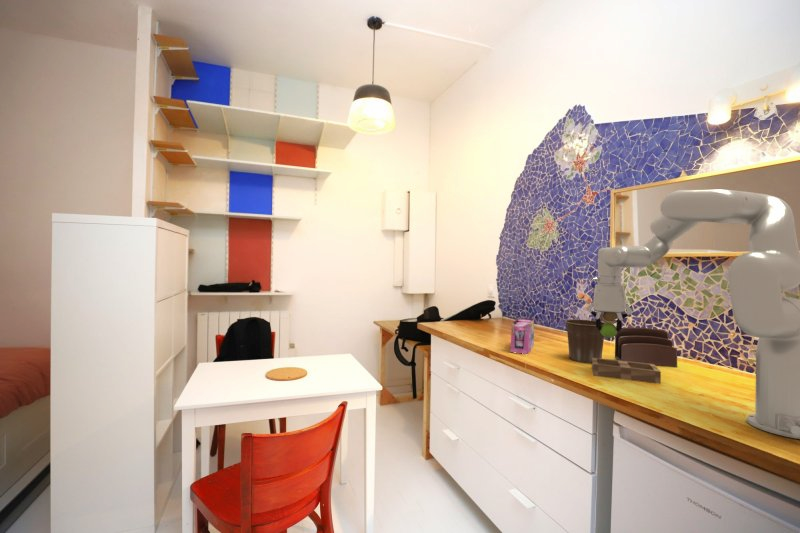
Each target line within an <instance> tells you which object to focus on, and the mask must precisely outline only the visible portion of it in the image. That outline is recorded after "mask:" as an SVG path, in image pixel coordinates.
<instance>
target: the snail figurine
mask: <svg viewBox="0 0 800 533" xmlns="http://www.w3.org/2000/svg"><path fill="white" fill-rule="evenodd" d="M600 319H601V322H604V323H605V324H603V325H602V326H601V330H600V332H601V334H602V335H603V336H604V338H606V339H607V338H608V339H611V338H614V337H615V335H616V334H617V326H616V325H615V324H617V319H618V316H617V314H616V313H614V312H601V315H600Z"/></svg>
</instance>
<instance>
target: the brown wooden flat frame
mask: <svg viewBox="0 0 800 533" xmlns="http://www.w3.org/2000/svg"><path fill="white" fill-rule="evenodd" d="M591 370H592V376H595V377H602V378H611V379H619V380H627V381H635V382H643V383H650V384H651V383H652V384H661V382H662V380H661V378H662V377H661V376H662V375H661V373H662V371H661V370H660V369H659V368H658V366H655V365H654V364H649V363H640V362H630V361H621V360H617V359H611V358H610V359H609V358H603V357H602V358H592V362H591Z"/></svg>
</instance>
